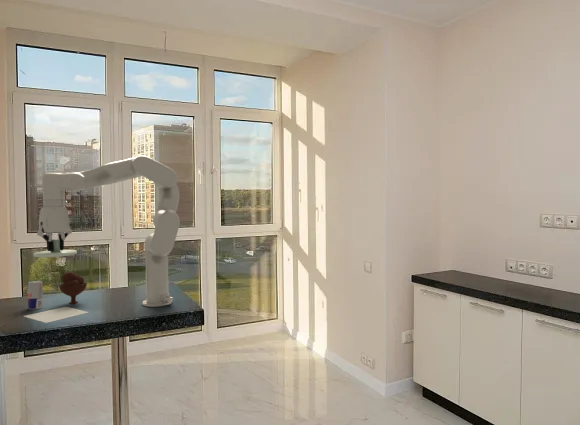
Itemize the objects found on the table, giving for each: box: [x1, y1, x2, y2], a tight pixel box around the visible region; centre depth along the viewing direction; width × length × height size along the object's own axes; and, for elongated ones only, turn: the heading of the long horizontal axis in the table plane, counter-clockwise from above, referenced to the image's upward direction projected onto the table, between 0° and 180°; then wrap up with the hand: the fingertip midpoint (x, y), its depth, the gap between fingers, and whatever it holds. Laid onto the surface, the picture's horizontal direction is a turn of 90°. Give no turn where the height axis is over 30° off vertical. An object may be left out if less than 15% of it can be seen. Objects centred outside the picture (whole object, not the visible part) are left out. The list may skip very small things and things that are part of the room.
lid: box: [33, 238, 78, 258], centre depth 166 cm, size 15×15×6 cm
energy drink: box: [27, 280, 44, 310], centre depth 177 cm, size 5×5×12 cm
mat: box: [22, 306, 90, 324], centre depth 167 cm, size 17×17×1 cm
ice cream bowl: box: [58, 271, 88, 305], centre depth 185 cm, size 11×11×15 cm
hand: (55, 250), depth 166 cm, fingers closed on lid, 3 cm apart
